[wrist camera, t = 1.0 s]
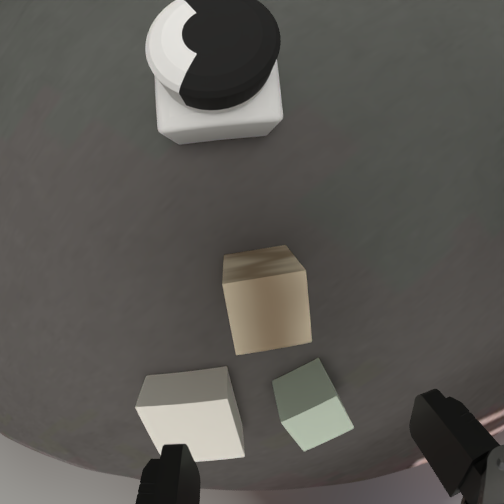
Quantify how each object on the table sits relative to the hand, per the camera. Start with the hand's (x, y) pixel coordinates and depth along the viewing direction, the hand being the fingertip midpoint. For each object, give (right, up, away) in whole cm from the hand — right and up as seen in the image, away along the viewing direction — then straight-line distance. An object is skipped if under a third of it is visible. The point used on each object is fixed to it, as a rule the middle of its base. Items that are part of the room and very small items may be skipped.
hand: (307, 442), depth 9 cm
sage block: (+3, -7, +20) cm, 21 cm away
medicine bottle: (-4, +18, +13) cm, 23 cm away
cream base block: (-7, -9, +20) cm, 23 cm away
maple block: (-1, +4, +17) cm, 18 cm away
